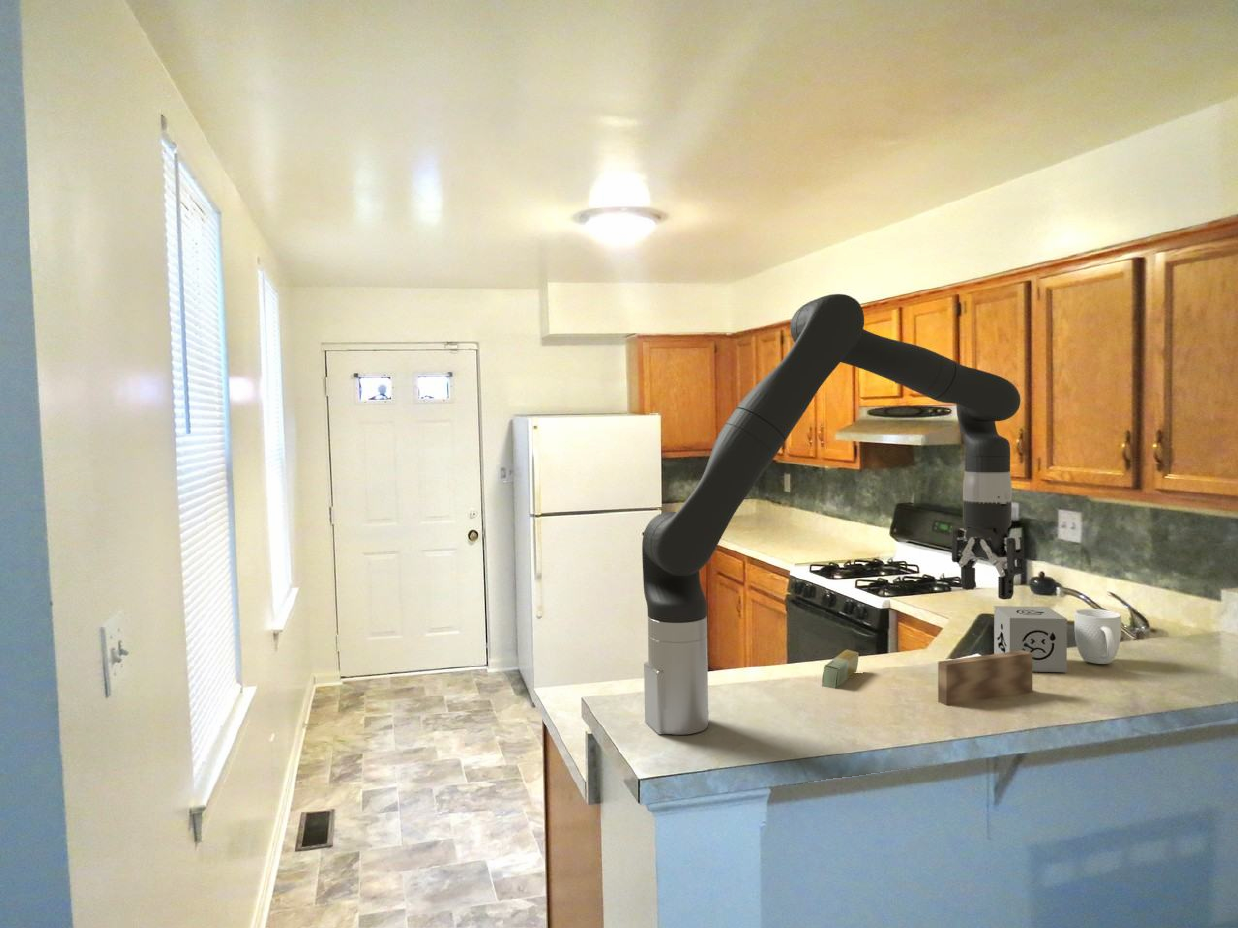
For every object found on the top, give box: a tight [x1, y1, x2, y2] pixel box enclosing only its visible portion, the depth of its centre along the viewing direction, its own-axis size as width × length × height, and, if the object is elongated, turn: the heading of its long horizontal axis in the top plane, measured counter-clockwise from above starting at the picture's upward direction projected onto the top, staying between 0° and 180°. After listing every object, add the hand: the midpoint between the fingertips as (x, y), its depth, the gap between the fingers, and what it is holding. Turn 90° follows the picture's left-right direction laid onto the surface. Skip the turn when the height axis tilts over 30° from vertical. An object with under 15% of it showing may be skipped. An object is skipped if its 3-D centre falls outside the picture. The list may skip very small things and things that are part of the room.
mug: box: [1073, 608, 1122, 665], centre depth 162 cm, size 11×8×9 cm
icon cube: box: [993, 605, 1068, 673], centre depth 162 cm, size 10×10×10 cm
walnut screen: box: [937, 650, 1033, 706], centre depth 144 cm, size 18×2×7 cm, turn 109°
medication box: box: [821, 649, 860, 689], centre depth 155 cm, size 12×3×4 cm, turn 146°
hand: (986, 593), depth 143 cm, fingers open, 8 cm apart
